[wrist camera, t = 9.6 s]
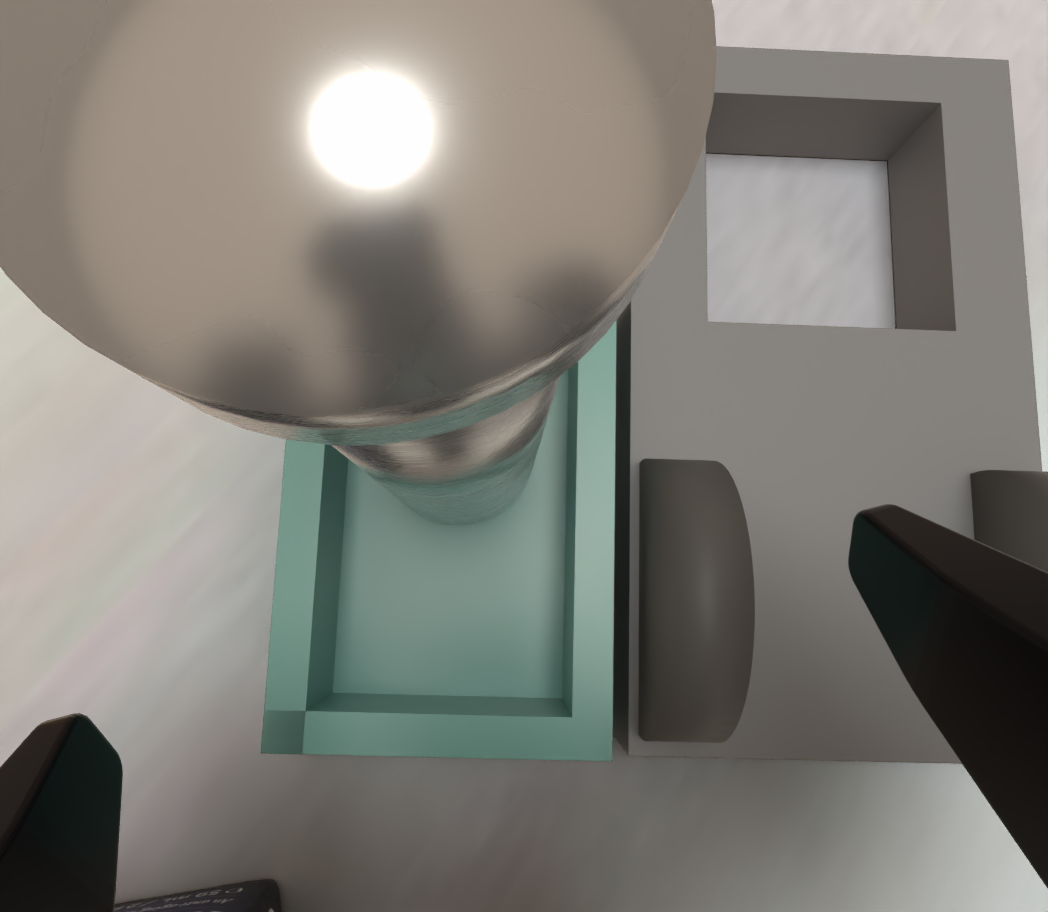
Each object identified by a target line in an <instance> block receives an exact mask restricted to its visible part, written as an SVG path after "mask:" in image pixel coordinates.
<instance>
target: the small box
mask: <svg viewBox="0 0 1048 912" xmlns="http://www.w3.org/2000/svg"><path fill="white" fill-rule="evenodd" d="M114 912H280V903H279V892H278V887H277V885H276V883H275V882H274V881H273V880H259V881H252V882H245V883H240V884H235V885H229V886H223V887H216V888H211V889H205V890H199V891H193V892H188V893H182V894H176V895H170V896H164V897H158V898H152V899H147V900H141V901H134V902H128V903H122V904H116V905H114Z"/></svg>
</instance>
